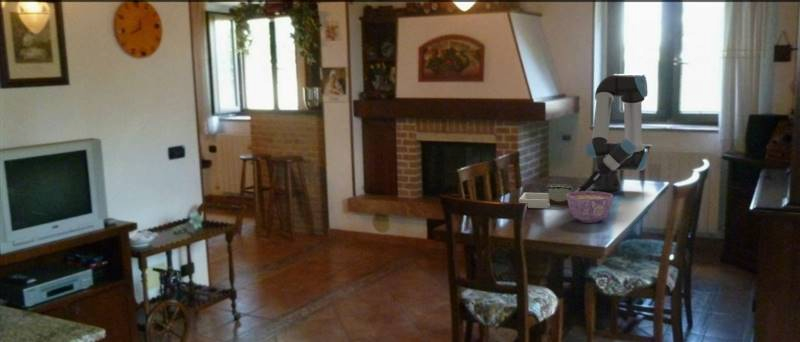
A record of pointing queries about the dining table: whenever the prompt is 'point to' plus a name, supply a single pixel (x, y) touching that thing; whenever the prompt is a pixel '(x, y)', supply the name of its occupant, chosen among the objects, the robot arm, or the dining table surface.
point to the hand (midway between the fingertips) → (571, 198)
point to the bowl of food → (589, 205)
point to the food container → (558, 194)
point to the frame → (535, 200)
